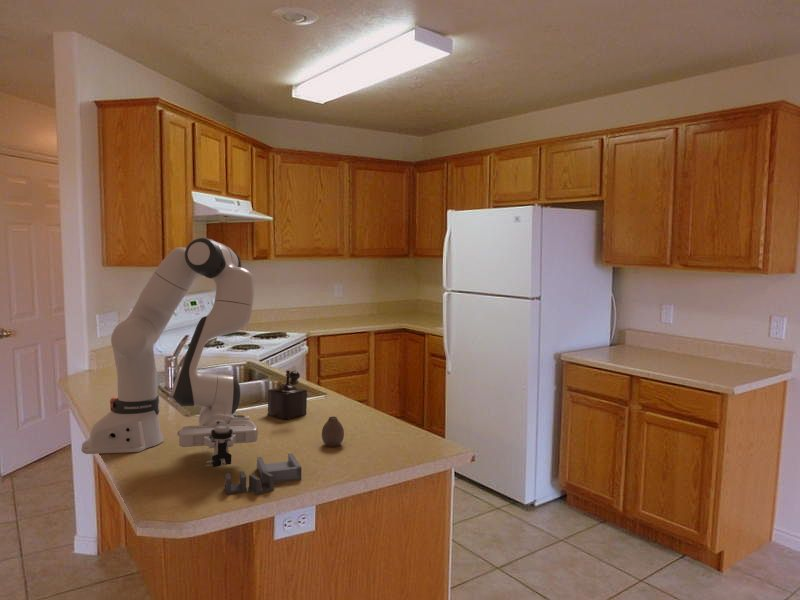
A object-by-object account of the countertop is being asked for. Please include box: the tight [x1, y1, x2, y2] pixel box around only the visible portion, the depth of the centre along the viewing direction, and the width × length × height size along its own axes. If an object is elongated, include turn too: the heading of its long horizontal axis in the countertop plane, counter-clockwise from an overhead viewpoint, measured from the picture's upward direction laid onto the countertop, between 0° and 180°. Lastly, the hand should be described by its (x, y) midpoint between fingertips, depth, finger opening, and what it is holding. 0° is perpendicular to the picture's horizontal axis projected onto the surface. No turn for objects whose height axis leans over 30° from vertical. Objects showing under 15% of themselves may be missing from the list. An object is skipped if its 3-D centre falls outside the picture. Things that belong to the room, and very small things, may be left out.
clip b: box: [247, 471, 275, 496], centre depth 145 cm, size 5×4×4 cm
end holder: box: [256, 453, 302, 484], centre depth 155 cm, size 10×12×3 cm
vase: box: [321, 416, 345, 448], centre depth 179 cm, size 7×7×9 cm
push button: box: [205, 425, 233, 468], centre depth 150 cm, size 7×5×10 cm
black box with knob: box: [267, 369, 308, 421], centre depth 209 cm, size 16×11×18 cm
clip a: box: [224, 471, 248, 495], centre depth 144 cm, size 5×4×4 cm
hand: (221, 444), depth 149 cm, fingers closed on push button, 3 cm apart
